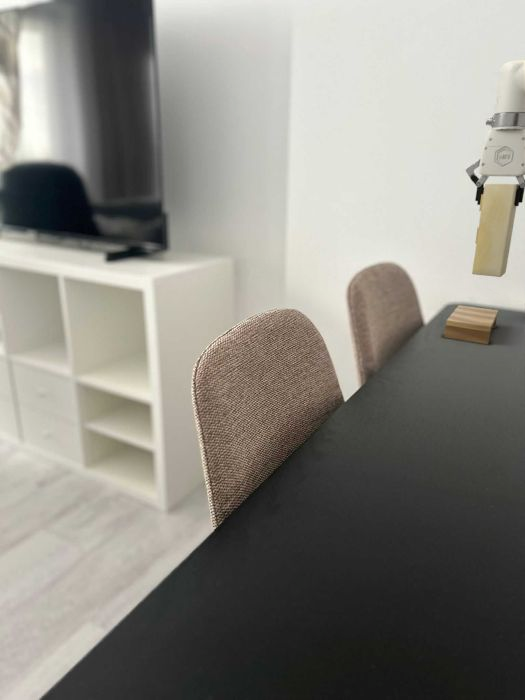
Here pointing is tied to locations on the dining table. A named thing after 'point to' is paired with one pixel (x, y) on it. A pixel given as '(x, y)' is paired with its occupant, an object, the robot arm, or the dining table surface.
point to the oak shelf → (471, 324)
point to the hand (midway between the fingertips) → (497, 204)
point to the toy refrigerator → (495, 229)
